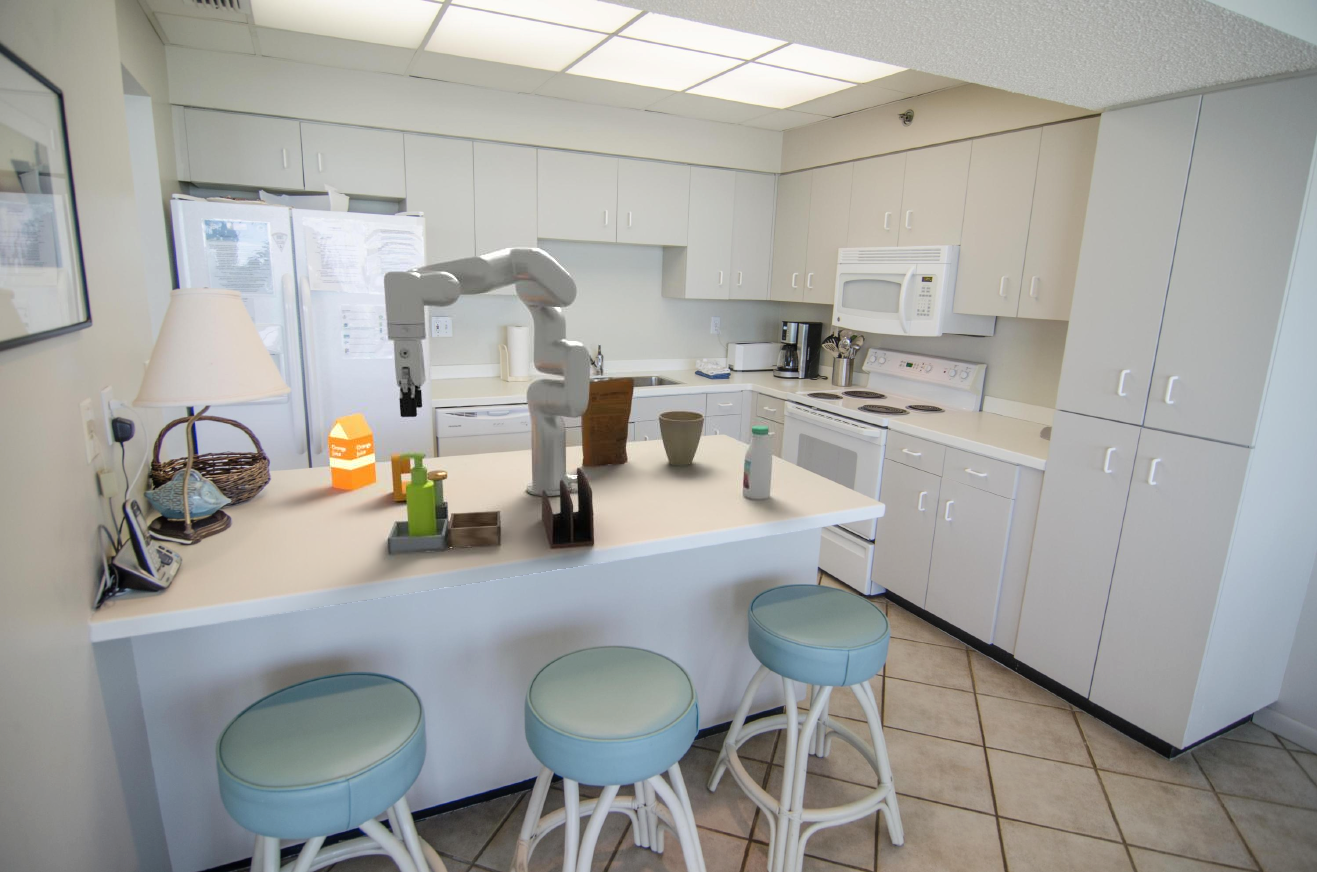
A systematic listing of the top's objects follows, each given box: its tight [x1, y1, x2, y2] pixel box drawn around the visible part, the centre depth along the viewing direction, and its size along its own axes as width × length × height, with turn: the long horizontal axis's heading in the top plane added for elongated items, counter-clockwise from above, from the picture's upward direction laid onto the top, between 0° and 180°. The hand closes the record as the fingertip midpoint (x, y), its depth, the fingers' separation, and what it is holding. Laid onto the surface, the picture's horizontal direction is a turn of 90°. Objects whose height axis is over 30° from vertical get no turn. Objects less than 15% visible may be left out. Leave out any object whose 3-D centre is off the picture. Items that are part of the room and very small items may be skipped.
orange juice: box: [327, 412, 377, 491], centre depth 189 cm, size 8×9×20 cm
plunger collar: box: [435, 501, 450, 527], centre depth 160 cm, size 5×5×6 cm
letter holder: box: [541, 467, 595, 550], centre depth 160 cm, size 10×20×14 cm, turn 15°
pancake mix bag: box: [580, 377, 635, 468], centre depth 215 cm, size 7×19×28 cm, turn 120°
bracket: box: [390, 453, 412, 502], centre depth 181 cm, size 11×7×12 cm, turn 22°
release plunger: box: [427, 470, 448, 507], centre depth 159 cm, size 4×4×13 cm
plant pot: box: [658, 410, 705, 467], centre depth 220 cm, size 15×15×16 cm
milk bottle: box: [742, 425, 773, 501], centre depth 188 cm, size 8×8×20 cm
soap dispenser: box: [398, 452, 437, 537], centre depth 150 cm, size 6×7×20 cm
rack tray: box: [387, 518, 449, 555], centre depth 152 cm, size 12×11×4 cm
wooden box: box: [447, 510, 502, 549], centre depth 155 cm, size 11×10×4 cm
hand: (411, 411), depth 145 cm, fingers open, 9 cm apart
